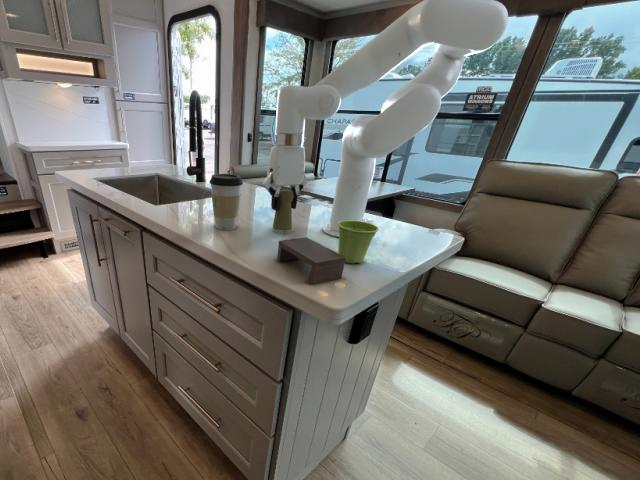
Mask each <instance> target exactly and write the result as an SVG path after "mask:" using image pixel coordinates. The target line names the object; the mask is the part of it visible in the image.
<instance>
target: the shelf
mask: <svg viewBox="0 0 640 480" xmlns="http://www.w3.org/2000/svg"><path fill="white" fill-rule="evenodd" d="M276 256H277V257H276V261H277V262H279V263H281V262H288V261H294V260H295V261H296V260H301V261H303V262H304V263H305V264H308V265H309V266H310V273H309V279H308V283H309V284H310V285H318V284H323V283H326V282H332V281H337V280H341V279H342V277H343V273H344V268H345V264H346V262H345V260H346V257H344V256H342V255H340V254H338V252H336V251H334V250H332V249H330V248H328V247H326V246H325V245H322V244H320V243H319V242H317V241H316V240H313V239H311V238H309V237H307V236H304V237H297V238H289V239H282V240H278V246H277V255H276Z"/></svg>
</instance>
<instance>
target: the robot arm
mask: <svg viewBox="0 0 640 480" xmlns="http://www.w3.org/2000/svg"><path fill="white" fill-rule="evenodd" d="M508 23H509V13H508V9H507V8H506V6H505V5H504V4H503V3H502V2H500V1H498V0H422V1H420V2H419V3H417V4H415V5H414V6H412V7H411V8H409V9H408V10H407V11H405V12H404V13H403V14H402V15H400V16H399V17H398V18H397V19H396V20H394V21H393V22H392V23H391V24H389V25H388V26H386V28H384V29H383V30H382V31H380V32H379V33H378V34H377V35H375V37H373V38H371V40H369V41H368V42H367V43H365V44H364V45H363V46H362V47H360V48H359V49H358V50H357V51H356V52H353V54H352V55H351V56H349V57H348V58H347V59H346V60H345V61H343V63H341V64H340V65H338V66H337V67H336V68H335V69H333V70H332V71H331V72H330V73H328V74H327V75H326V76H324V77H323V78H322V79H320V81H318V82H317V83H316V84H315V85H313V86H303V85H284V86H281V87H280V88H279V89H278V91H277V100H276V101H277V103H276V116H275V117H276V119H275V135H274V136H275V137H274V146H271V149H270V153H269V157H268V163H267V173H266V178H265V179H264V181H263V182H262V184H261V185H262V187H263V188H264V189H266V192H268V194H269V195H270V196H271V201H270V206H271V210H272V211H274V212H276V211H279V205H280V197H278V195H279V192H280V190H282V187H287V186H289V187H290V191H292V192H293V195H294V198H293V201H292V202H291V209H292V210H296V209H297V204H298V196H299V195H300V194H301V191H302V190H303V189H304V187H305V186H306V185H307V184H308V183H309V180H308V178H307V175H305V170H306V169H305V168H306V151H305V146H303V145H304V142H306V141H307V136H306V135H305V126H306V118H307V119H309V120H314V121H316V120H317V121H325V120H328V119H330V118H332V117H333V116H335V114H337V112H338V111H339V108H340V106H341V102H342V101H343V100H345V99H346V98H347V97H349V96H351V95H352V94H354V93H356V92H358V91H361V90H363V89H365V88H367V87H369V86H372V85H373V84H375V83H377V82H378V81H380V80H382V79H383V78H385V76H387V75H388V74H389V73H391V72H392V71H393V70H394V69H395V68H397V67H399V66H400V65H401V64H402V63H403V62H405V61H406V60H408V59H409V58H410V57H411V56H413V55H414V54H415V53H417V52H419V50H421V49H423V48H424V47H427V46H430V45H433V44H435V47H434V52H433V56H432V58H431V60H430V62H429V64H428V65H427V66H426V67H425V68H423V70H421V71H420V72H419V73H418V74H416V75H415V76H414V77H413V78H411V79H410V80H408V81H407V82H406V83H404V84H403V85H401V86H400V87H399V88H398V89H396V90H394V91H393V92H392V93H391V94H390V95H389V96H388V97H387V98H386V99H385V101H384V102H383V104H382V106H381V110H380V113H379V114H377V115H362V116H358V117H356V118H355V119H353V120H352V121H350V123H348V125H347V126H346V127H345V130H344V132H343V135H342V140H341V151H340V152H341V153H340V154H341V155H340V164H339V168H338V169H339V170H338V175H337V181H336V185H335V191H334V196H333V201H332V207H331V213H330V218H329V223H327V224H324V225H323V228H322V230H323V232H324V233H326V234H327V235H329V236H332V237H336V238H339V226H338V222H340V221H345V220H352V221H361V222H366V223H370V224H374V221H373V219H372V218H364V216H365V213H366V208H367V203H368V200H369V196H370V192H371V191H370V190H371V187H372V182H373V179H374V174H375V171H376V170H375V169H376V159H381V158H383V157H386V156H388V155H390V154H391V153H392V152H394V151H395V150H396V149H399V148H400V147H401V146H402V145H404V144H405V143H407V142H408V141H410V140H411V139H413V138H414V137H415V136H417V135H418V134H419V133H420V132H422V131H423V130H424V129H426V128H427V127H428V126H429V125H430V124H432V122H433V121H434V119H436V117H437V115H438V113H439V111H440V109H441V104H442V99H443V98H444V97H445V96H446V95H447V94H449V93H450V92H451V91H452V89H453V88H454V87H455V85H456V84H457V82H458V80H459V78H460V75H461V73H462V69H463V66H464V61H465V59H466V58H465V57H467V56H471V55H474V54H479V53H482V52H485V51H487V50H488V49H490V48H491V47H493V46H494V45H495V44H497V43H498V42H499V41H500V40H501V38H502V37H503V35H504V34H505V31H506V29H507V27H508Z"/></svg>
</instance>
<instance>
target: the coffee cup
mask: <svg viewBox="0 0 640 480" xmlns="http://www.w3.org/2000/svg"><path fill="white" fill-rule="evenodd" d="M209 184H210V190H211V192H210V193H211V194H210V195H211V201H212V202H211V203H212V213H213V217H214V224H215V225H214V226H215V229H218V230H223V231H231V230H234V229H236V225H237V218H238V213H239V208H240V200H241V195H242V194H241V192H242V191H241V190H242V185H243V184H244V182H243V180H242V176H241V175H239V174H232V173H215V174H212V175H211V178H210V179H209Z"/></svg>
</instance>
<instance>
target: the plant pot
mask: <svg viewBox="0 0 640 480" xmlns="http://www.w3.org/2000/svg"><path fill="white" fill-rule="evenodd" d="M338 226H339V237H338V247H337V248H338V249H337V253H338V254H340V255H342V256H344V257H346V260H345V263H348V264H355V263H357V264H361V263H363V261H364V259H365V257H366V255H367V253H368V251H369V248H370V246H371V243H372V240H373V238H374V237H375V235H376V233H377V232H379V231H380V227H379V226H377V225H375V224H374V223H372V224H370V223H366V222H361V221H352V220H345V221H340V222H338Z"/></svg>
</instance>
